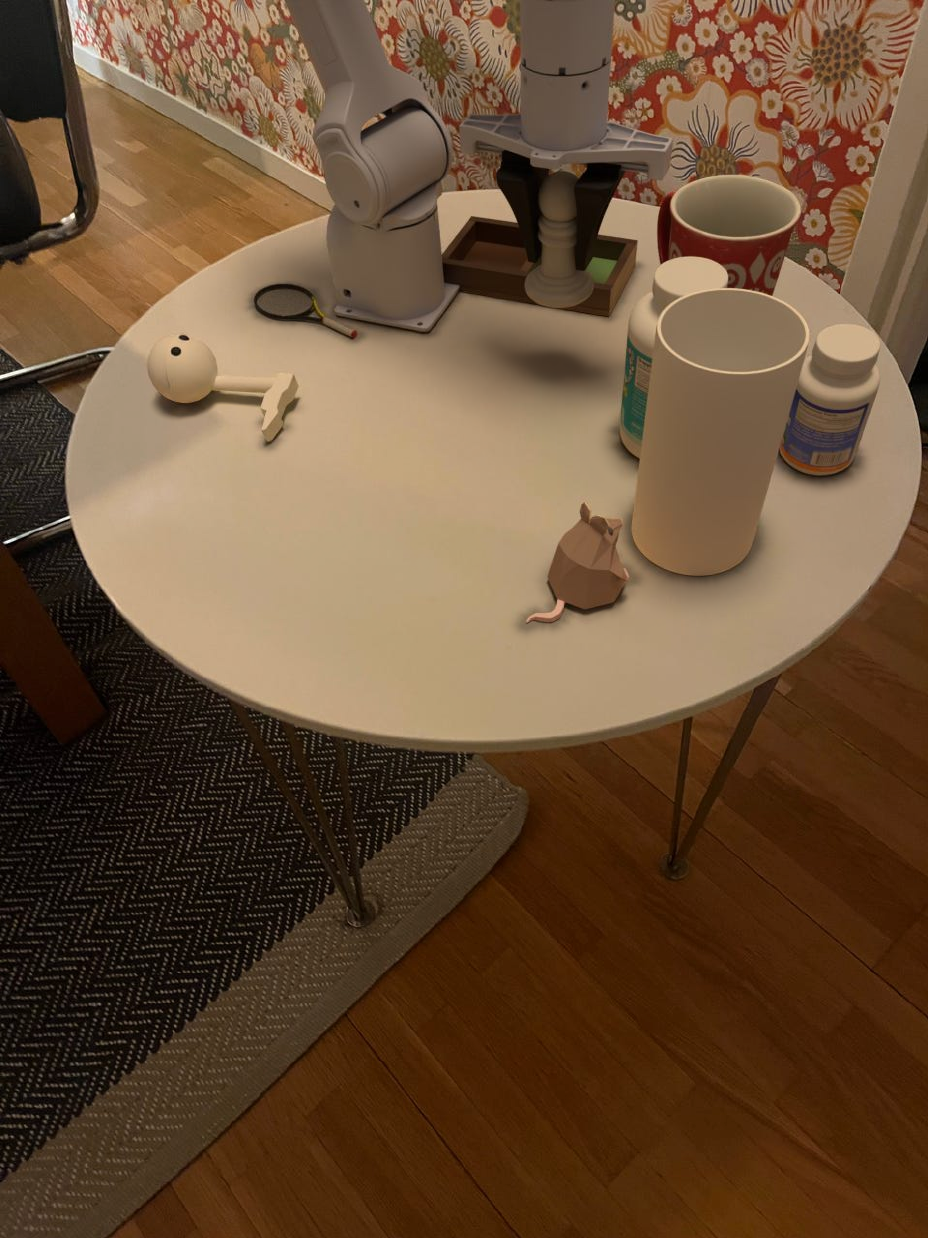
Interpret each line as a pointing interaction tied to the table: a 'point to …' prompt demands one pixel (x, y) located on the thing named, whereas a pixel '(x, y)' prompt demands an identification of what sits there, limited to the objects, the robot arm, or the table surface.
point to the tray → (529, 264)
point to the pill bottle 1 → (667, 287)
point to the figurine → (213, 379)
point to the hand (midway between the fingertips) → (559, 259)
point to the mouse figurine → (586, 565)
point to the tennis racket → (301, 315)
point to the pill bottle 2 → (832, 400)
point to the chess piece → (558, 247)
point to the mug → (730, 227)
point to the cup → (714, 425)
